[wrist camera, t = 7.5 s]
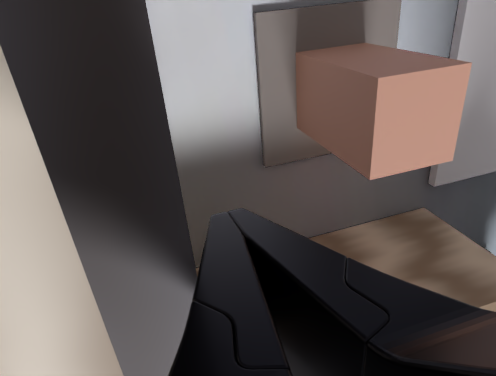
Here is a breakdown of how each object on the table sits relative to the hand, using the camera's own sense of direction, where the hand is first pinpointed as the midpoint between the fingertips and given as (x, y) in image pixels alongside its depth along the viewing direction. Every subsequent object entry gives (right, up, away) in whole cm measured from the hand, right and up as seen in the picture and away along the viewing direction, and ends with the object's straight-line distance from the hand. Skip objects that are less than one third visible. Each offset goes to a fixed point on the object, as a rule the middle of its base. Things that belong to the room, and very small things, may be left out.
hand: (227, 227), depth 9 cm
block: (+5, +7, +11) cm, 14 cm away
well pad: (+5, +7, +11) cm, 14 cm away
